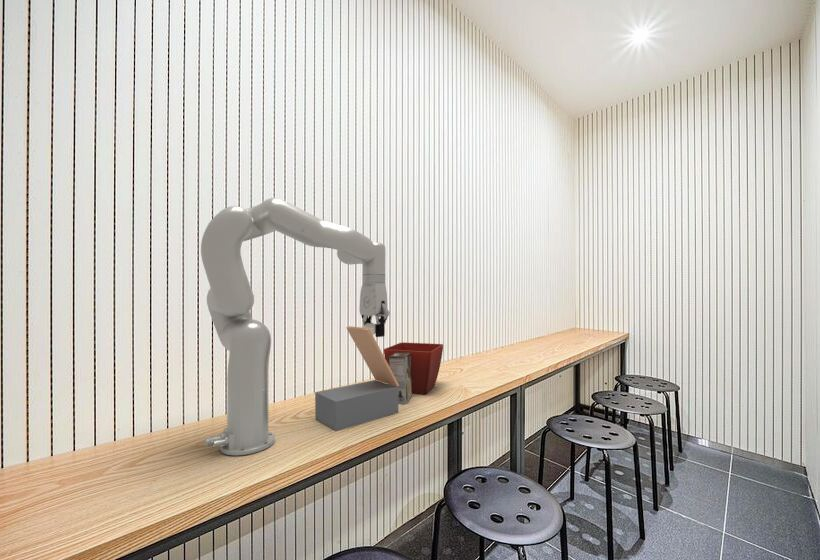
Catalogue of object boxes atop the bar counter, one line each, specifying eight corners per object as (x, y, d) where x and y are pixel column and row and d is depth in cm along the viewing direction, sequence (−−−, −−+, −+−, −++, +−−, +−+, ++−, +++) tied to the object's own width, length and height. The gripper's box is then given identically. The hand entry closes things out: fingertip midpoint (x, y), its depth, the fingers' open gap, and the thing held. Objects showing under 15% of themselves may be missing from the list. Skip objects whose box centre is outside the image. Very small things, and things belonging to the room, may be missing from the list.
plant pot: (431, 398, 127) (430, 351, 127) (383, 393, 133) (382, 349, 134) (444, 385, 144) (444, 343, 145) (401, 381, 151) (400, 342, 152)
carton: (336, 431, 97) (336, 401, 98) (315, 418, 107) (315, 392, 108) (398, 412, 112) (398, 387, 112) (374, 403, 121) (374, 379, 122)
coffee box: (395, 395, 130) (394, 352, 131) (412, 396, 129) (411, 352, 130) (388, 403, 121) (388, 356, 122) (406, 404, 120) (406, 356, 120)
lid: (367, 330, 106) (380, 319, 109) (346, 327, 115) (359, 317, 118) (397, 386, 112) (409, 374, 116) (375, 379, 122) (386, 369, 125)
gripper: (350, 281, 120) (350, 334, 119) (380, 279, 106) (379, 339, 105) (368, 281, 124) (368, 333, 123) (399, 279, 111) (399, 337, 110)
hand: (373, 335), depth 114 cm, fingers closed on lid, 6 cm apart
